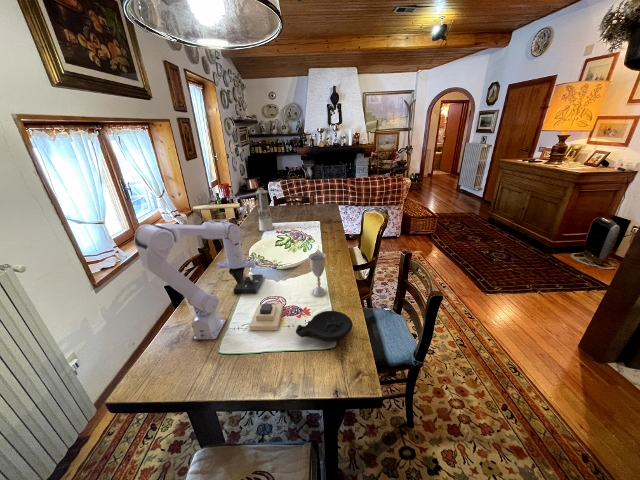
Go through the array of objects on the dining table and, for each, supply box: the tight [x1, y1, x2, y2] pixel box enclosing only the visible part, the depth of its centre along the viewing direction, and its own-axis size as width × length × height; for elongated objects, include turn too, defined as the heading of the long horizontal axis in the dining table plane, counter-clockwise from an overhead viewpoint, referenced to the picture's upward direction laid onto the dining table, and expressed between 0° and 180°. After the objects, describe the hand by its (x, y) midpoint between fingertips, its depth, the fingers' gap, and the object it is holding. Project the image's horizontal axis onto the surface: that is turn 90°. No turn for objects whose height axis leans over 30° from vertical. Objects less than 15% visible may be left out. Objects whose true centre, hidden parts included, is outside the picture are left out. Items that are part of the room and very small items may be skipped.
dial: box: [243, 272, 253, 283], centre depth 116 cm, size 5×1×4 cm, turn 57°
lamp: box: [255, 187, 274, 232], centre depth 178 cm, size 10×13×30 cm
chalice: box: [308, 251, 327, 297], centre depth 106 cm, size 7×7×18 cm
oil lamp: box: [295, 310, 353, 343], centre depth 87 cm, size 15×20×5 cm
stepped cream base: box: [249, 303, 284, 331], centre depth 96 cm, size 12×10×4 cm
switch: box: [260, 303, 272, 314], centre depth 95 cm, size 4×4×2 cm
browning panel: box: [233, 273, 264, 295], centre depth 117 cm, size 12×10×3 cm
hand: (240, 282), depth 101 cm, fingers closed
